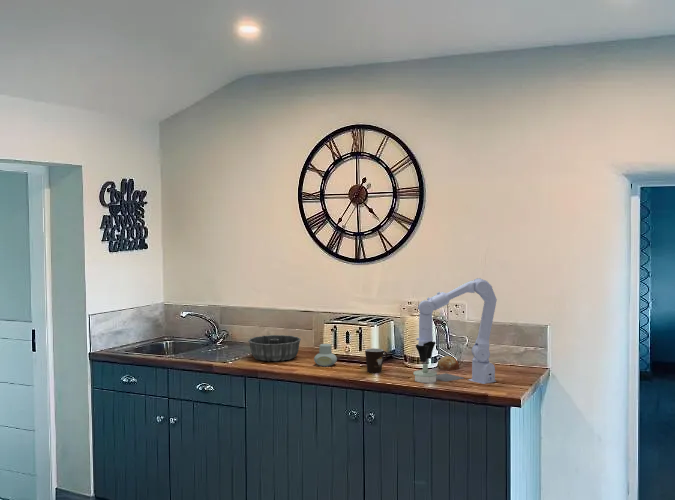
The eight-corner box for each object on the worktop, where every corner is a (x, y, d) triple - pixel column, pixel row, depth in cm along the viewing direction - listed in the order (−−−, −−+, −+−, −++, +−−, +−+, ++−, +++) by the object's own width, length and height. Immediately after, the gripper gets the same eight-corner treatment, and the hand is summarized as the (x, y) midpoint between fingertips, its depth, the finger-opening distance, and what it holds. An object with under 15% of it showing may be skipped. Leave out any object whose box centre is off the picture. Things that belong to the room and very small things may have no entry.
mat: (465, 379, 313) (465, 378, 313) (445, 382, 306) (445, 381, 306) (445, 374, 322) (445, 373, 322) (426, 377, 315) (426, 376, 315)
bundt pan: (276, 366, 342) (276, 345, 342) (237, 359, 358) (237, 339, 358) (311, 357, 363) (311, 338, 363) (273, 352, 379) (272, 333, 379)
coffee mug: (368, 374, 323) (368, 352, 323) (362, 370, 332) (362, 348, 331) (392, 372, 326) (392, 350, 326) (386, 369, 335) (386, 347, 334)
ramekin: (440, 382, 308) (440, 374, 307) (425, 385, 302) (425, 377, 302) (426, 378, 315) (426, 371, 315) (410, 381, 310) (410, 373, 309)
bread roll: (437, 375, 338) (430, 360, 337) (454, 364, 341) (448, 350, 340) (447, 379, 329) (440, 364, 327) (465, 368, 332) (458, 353, 331)
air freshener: (312, 366, 340) (312, 345, 340) (315, 363, 348) (315, 343, 348) (335, 367, 339) (335, 346, 338) (337, 363, 347) (337, 343, 347)
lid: (441, 374, 308) (441, 364, 308) (425, 377, 301) (425, 367, 301) (424, 370, 315) (424, 361, 315) (408, 374, 309) (408, 363, 309)
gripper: (421, 325, 316) (422, 356, 316) (411, 330, 303) (411, 362, 303) (437, 326, 313) (437, 357, 314) (427, 331, 300) (427, 363, 300)
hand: (425, 359), depth 308 cm, fingers open, 7 cm apart
